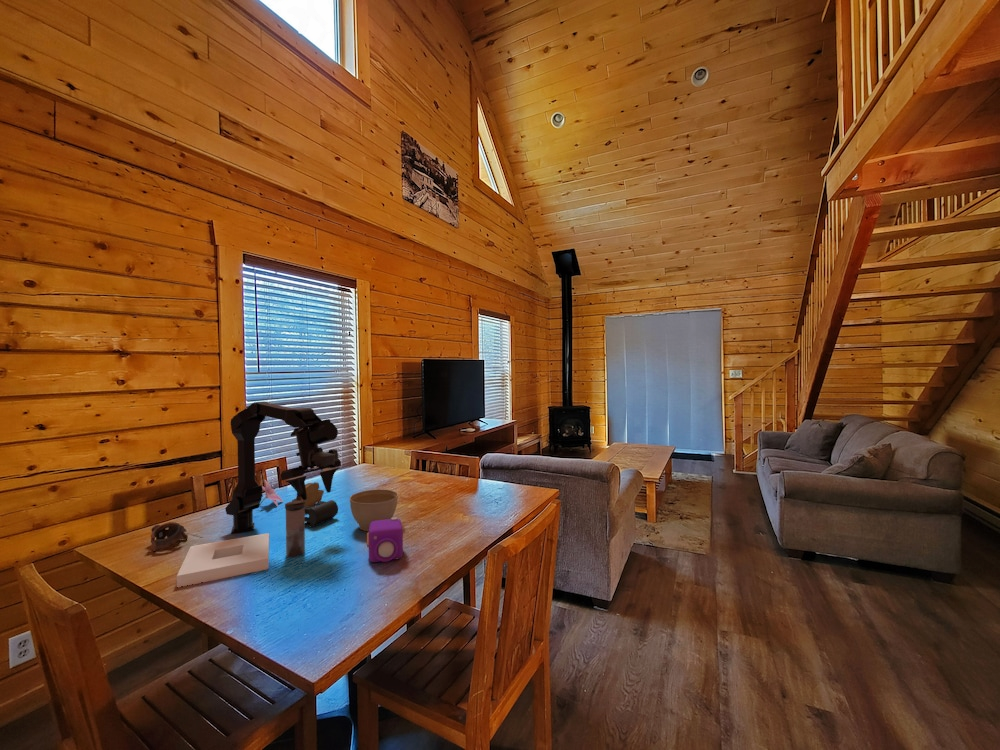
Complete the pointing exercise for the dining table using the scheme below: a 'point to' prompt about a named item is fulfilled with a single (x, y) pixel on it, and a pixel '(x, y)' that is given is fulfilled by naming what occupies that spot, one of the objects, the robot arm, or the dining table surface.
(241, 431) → the robot arm
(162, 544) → the brown hollow sculpture
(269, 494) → the lily
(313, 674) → the dining table surface
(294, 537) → the tube
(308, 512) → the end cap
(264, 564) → the mount plate
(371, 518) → the planter bowl
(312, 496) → the wooden carving
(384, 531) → the toy camera
